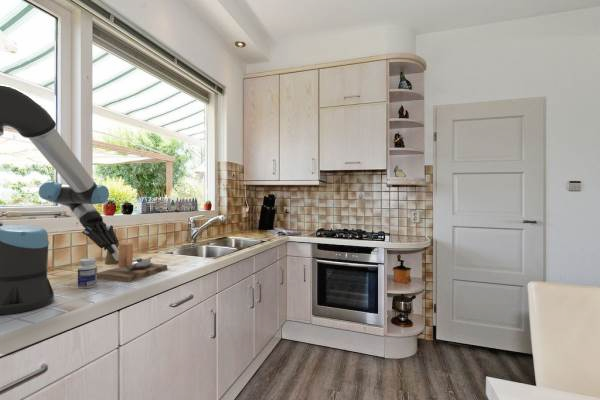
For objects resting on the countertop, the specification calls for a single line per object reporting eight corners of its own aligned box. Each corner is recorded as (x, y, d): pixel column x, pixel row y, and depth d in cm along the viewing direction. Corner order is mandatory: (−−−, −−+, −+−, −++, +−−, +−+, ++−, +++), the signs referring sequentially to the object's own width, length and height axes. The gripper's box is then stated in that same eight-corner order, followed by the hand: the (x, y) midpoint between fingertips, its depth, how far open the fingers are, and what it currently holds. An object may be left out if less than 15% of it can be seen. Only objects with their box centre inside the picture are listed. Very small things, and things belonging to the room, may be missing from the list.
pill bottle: (82, 284, 107) (82, 257, 107) (99, 284, 108) (100, 257, 108) (74, 289, 101) (74, 261, 101) (92, 288, 103) (93, 260, 103)
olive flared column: (122, 262, 144) (122, 240, 144) (113, 265, 138) (113, 242, 138) (111, 261, 145) (111, 239, 145) (101, 264, 139) (102, 241, 139)
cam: (133, 273, 116) (134, 244, 116) (111, 272, 117) (112, 244, 117) (160, 262, 136) (160, 238, 136) (141, 262, 136) (142, 237, 136)
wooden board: (128, 282, 112) (128, 276, 112) (94, 278, 115) (95, 272, 115) (167, 269, 133) (167, 264, 133) (137, 266, 137) (138, 261, 137)
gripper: (97, 221, 130) (126, 261, 126) (68, 223, 117) (100, 267, 113) (107, 209, 128) (137, 250, 125) (79, 210, 116) (112, 255, 112)
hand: (119, 258), depth 119 cm, fingers closed
